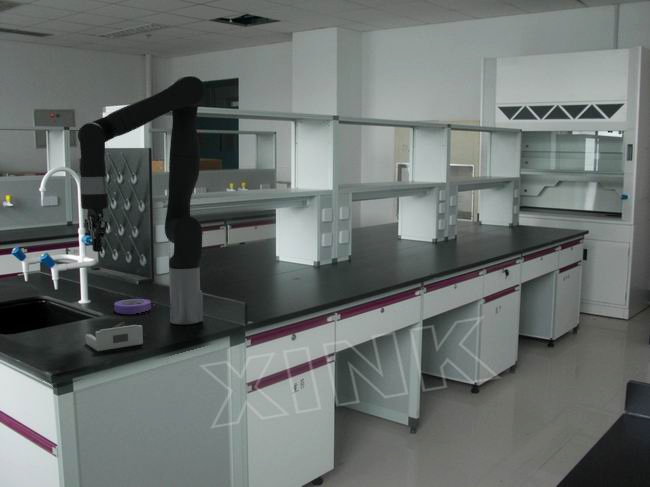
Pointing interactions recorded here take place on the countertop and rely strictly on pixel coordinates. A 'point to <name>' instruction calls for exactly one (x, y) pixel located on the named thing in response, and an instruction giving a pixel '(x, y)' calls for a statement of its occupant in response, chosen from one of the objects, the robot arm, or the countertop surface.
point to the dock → (116, 337)
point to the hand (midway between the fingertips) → (97, 251)
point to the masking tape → (132, 306)
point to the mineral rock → (120, 325)
